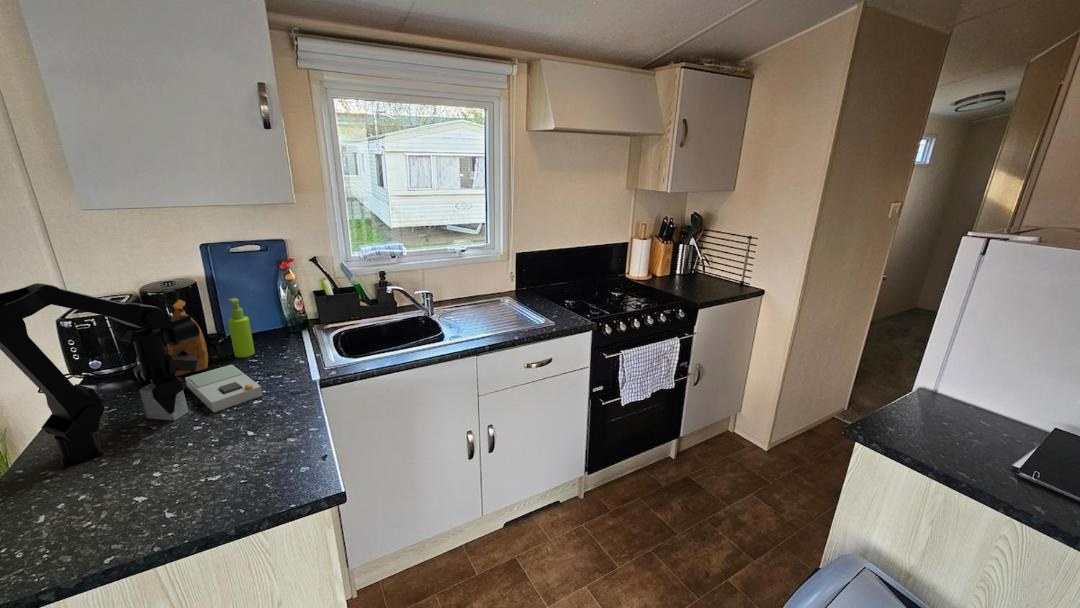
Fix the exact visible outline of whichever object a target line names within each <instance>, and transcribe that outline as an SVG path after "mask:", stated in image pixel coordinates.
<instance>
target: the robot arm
mask: <svg viewBox="0 0 1080 608" xmlns="http://www.w3.org/2000/svg"><path fill="white" fill-rule="evenodd" d="M52 305H53V306H57V307H62V308H66V309H71V310H76V311H81V312H85V313H90V314H95V315H100V316H104V317H106V318H109V319H112V320H114V321H116V322H119V323H122V324H124V325H126V326H130V327H135V328H141V330H138V331H137V330H136V331H134V330H132V329H130V330H127V331H126V333H125V334H124V335H122V337H120V341H124V342H128V343H133V346H134V349H135V352H136V353H135V354H136V356H135V359H136V360H135V361H136V362H137V363H138V364H137V365H136V366H135V367H134V368H133V369H132V370H133V372H134V376H135V377H136V378H137V381H138V382H139V383H140V384H141V385H142V386H143V388H144V387H145V386H147V385H149V384H150V385H149V386H148V388H149V391H150V394H151V396H152V397H153V398H154V399H155V400H156V401H157V402H158V403H159V404H160V405H161V406H162V407H163V409H164V410H165V411H166V412H167V413H168V414H171V413H174V409H175V401H176V395H177V394H178V393H179V392H181V391H182V390H183V391H184V390H186V386H185V381H184V380H182V379H181V377H179V376H175V375H174V374H176V371H191V372H190V373H192V372H193V373H194V372H197V371H196V369H197V365H198V361H199V359H197V358H196V357H195V356H192V355H188V353H187V352H186V351H185V350H178V351H177V352H176V353H175V354H173V355H169V354H168V348H167V344H169V345H172V346H175V345H178V344H181V343H184V342H187V341H190V340H193V339H196V338H198V337H199V334H200V331H199V328H198V327H197V325H196V324H195V323H194V321H195V320H194V321H192V320H191V318H192V317H191V316H190V315H188V314H186V315H183V316H180V317H178V318H175V319H172V318H171V319H172V320H171V319H169V318H168V317H166V316H165V315H164V314H163V311H162V309H161V308H160V307H157V306H155V305H154V306H153V305H149V304H144V303H137V302H129V301H128V302H126V301H113V300H109V299H105V298H101V297H97V296H92V295H88V294H85V293H80V292H77V291H71V290H68V289H63V288H60V287H58V286H56V285H51V284H47V283H42V282H41V283H39V282H37V283H32V284H30V285H27V286H24V287H21V288H18V289H13V290H10V291H9V290H8V291H5V292H1V293H0V351H1V352H2V353H3V354H4V355H5V356H6V357H7V358H8V359H9V360H10V361H11V362H12V363H13V364H14V365H15V366H16V367H17V368H18V369H19V370H20V372H22V374H24V375H25V376H26V377H27V378H28V379H29V380H30V381H31V382H32V383H33V384H34V385H35V386H36V387H37V388H38V389H39V390H40V391H41V392H42V393H43V394H44V395H45V399H46V403H47V406H48V408H49V410H50V412H51V414H50V415H49V417H48V418H47V419H46V421H45V422H44V423H43V424H42V425H41V430H42V431H44V432H45V433H46V434H48V435H52V436H54V441H55V444H56V446H57V449H58V451H59V452H58V453H59V454H57V458H58V461H59V463H60V466H61V468H62V469H64V468H65V469H66V468H68V467H69V468H70V467H72V466H74V465H76V464H79V463H82V462H86V461H88V460H92V459H94V458H96V457H100V456H102V455H104V451H103V450H102V448H101V446H100V443H99V442H98V441H96V438H95V434H94V433H96V432H98V431H99V429H100V428H99V427H100V422H101V421H100V420H101V417H102V416H103V415H104V412H105V410H106V407H105V406H104V404H103V403H104V402H106V400H104V399H102V398H101V397H100V396H98V394H97V392H96V390H95V389H94V388H92V387H88V386H85V385H80V384H78V383H75V384H73V383H72V382H71V381H70V379H68V378H67V376H66V375H65V374H63V372H62V371H61V370H60V369H59V368H58V367H57V366H56V364H55V363H54V362H53V361H52V360H51V359H50V358H49V357H48V356H47V355H46V353H44V352H43V350H42V349H40V347H39V346H38V345H37V344H36V343H35V341H34V340H33V339H31V338H30V336H29V334H28V329H27V324H26V322H25V320H24V319H25V318H28V317H31V316H33V315H35V314H36V313H38V312H39V311H41V310H43V309H44V308H46V307H48V306H52ZM187 315H188V316H187Z"/></svg>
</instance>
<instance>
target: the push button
mask: <svg viewBox="0 0 1080 608" xmlns="http://www.w3.org/2000/svg"><path fill="white" fill-rule="evenodd" d="M219 389H220V392H221V393H222V394H223V395H224V394H227V393H230V392H233V391H236V390H239V389H241V386H240V385H239V384H237V383H236V382H233V383H230V384H227V385H224V386H220V387H219Z"/></svg>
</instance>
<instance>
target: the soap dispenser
mask: <svg viewBox="0 0 1080 608" xmlns="http://www.w3.org/2000/svg"><path fill="white" fill-rule="evenodd" d="M227 301H229V302H231V303H232V308H231V309H230V315H231V318H228V320H227V323H228V327H229V332H230V333H229V334H230V338H231V343H232V348H233V352H234V353H233V354H234V357H235V358H247V357H251V356H252V355H254V354H255V353H256V352H255V346H254V345H255V344H254V339H253V335H252V329H251V324H250V323H251V322H250V318H249V316H246V315H244V310H243V308H242V307H240V304H239V303H240V300H239V299H238V298H237V297H233V298H228V299H227Z"/></svg>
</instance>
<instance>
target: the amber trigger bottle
mask: <svg viewBox="0 0 1080 608" xmlns="http://www.w3.org/2000/svg"><path fill="white" fill-rule="evenodd" d="M185 305H186V302H185V300H184V301H183V300H182V299H178V300H177V301H176V302H175V303H174V304H173V305H172V308H173V309H174V313H173V316H172V317H171V319H170V320H172V319H175V318H178V317H180V316H183V315H187V316H189V315H188V314H187V313H186V311H185V310H184V306H185ZM191 320H192V321H194V323H195V324H196V325H197V327H198V328H199V331H200V334H199V337H198V338H196V339H193V340H190V341H187V342H184V343H181V344H178V345H175V346H172V345H169V344H166V349H167V352H168V354H169V355H173V354H175V353H176V352H177V351H178V350H185V351H186V352H187V353H188V355H192V356H195V357H196V358H197V359H199V361H198V365H197V369H196V371H195V372H199V371H203V370H206V369H208V365H209V354H208V353H209V352H208V348H207V341H206V340H205V337H204V334H203V332H202V329H201V328H200V325H199V324H198V323H197V322H196V321H195V320H194V318H192V317H191ZM188 373H189V374H190V373H192V372H191V371H176V374H173V376H176V377H179V376H182V375H186V374H188Z"/></svg>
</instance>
